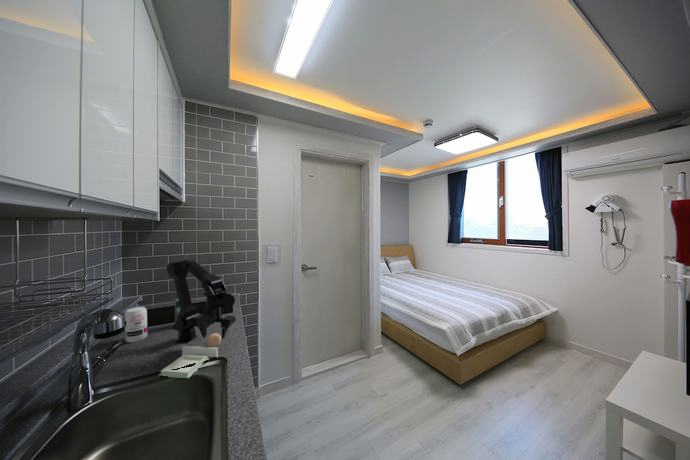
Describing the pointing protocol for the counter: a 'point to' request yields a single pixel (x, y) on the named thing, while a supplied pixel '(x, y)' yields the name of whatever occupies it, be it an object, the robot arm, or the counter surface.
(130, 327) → the supplement can
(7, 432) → the counter surface
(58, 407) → the counter surface
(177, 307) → the can
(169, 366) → the sage mat
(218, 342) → the ball
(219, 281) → the robot arm
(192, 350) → the low wall
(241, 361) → the counter surface
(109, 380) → the counter surface
